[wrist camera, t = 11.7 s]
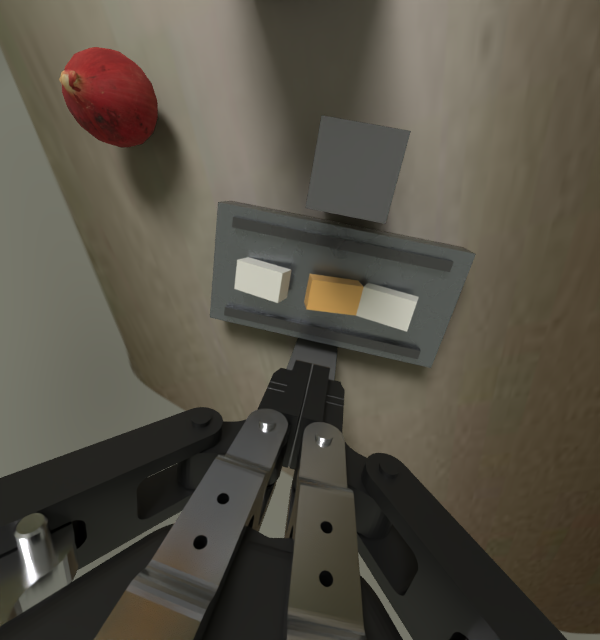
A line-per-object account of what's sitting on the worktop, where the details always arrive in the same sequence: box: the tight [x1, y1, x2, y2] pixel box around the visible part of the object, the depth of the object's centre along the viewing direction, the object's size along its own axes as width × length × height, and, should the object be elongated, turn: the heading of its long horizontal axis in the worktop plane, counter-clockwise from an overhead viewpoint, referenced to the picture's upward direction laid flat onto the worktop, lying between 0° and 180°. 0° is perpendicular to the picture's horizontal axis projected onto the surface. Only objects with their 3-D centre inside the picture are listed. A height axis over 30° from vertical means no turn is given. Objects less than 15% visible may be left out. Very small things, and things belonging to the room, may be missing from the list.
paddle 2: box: [356, 283, 419, 332], centre depth 25 cm, size 4×2×2 cm, turn 79°
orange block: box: [304, 274, 364, 316], centre depth 25 cm, size 4×2×2 cm, turn 80°
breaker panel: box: [210, 201, 475, 368], centre depth 28 cm, size 20×10×4 cm, turn 80°
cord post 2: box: [306, 115, 411, 224], centre depth 21 cm, size 4×4×12 cm
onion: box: [59, 47, 158, 147], centre depth 23 cm, size 6×6×8 cm
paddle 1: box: [234, 257, 291, 303], centre depth 26 cm, size 4×2×2 cm, turn 79°
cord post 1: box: [287, 338, 338, 467], centre depth 27 cm, size 4×4×12 cm
